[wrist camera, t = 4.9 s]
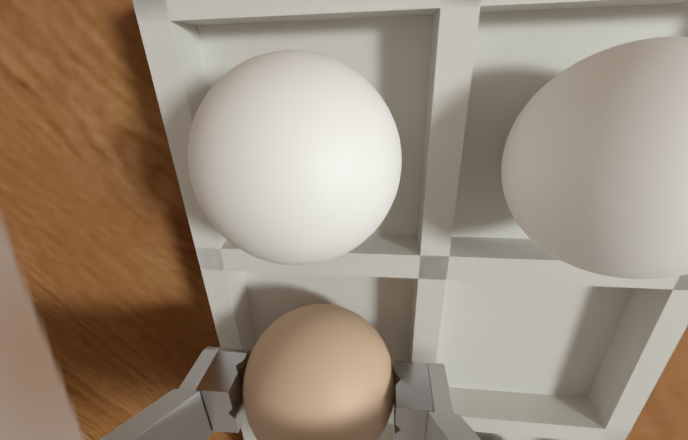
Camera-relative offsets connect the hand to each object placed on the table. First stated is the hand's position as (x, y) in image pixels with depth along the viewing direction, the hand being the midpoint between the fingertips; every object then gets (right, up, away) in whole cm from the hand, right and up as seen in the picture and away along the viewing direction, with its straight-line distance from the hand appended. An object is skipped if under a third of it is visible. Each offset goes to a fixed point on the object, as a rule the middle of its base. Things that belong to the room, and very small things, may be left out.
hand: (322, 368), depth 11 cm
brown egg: (0, 0, 0) cm, 0 cm away
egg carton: (+4, +1, +2) cm, 4 cm away
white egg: (+6, +6, -4) cm, 10 cm away
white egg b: (0, +6, -3) cm, 7 cm away
